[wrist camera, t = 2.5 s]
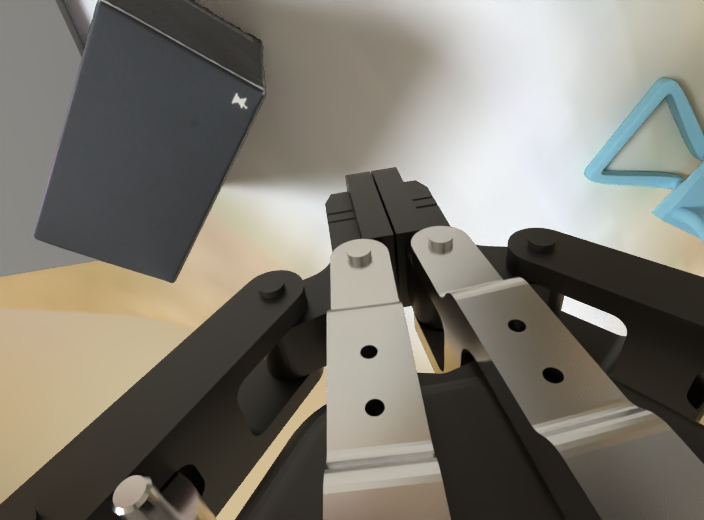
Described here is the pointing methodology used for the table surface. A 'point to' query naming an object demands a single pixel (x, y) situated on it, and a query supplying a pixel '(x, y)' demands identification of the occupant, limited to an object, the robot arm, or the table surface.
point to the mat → (32, 124)
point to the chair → (688, 196)
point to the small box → (150, 133)
